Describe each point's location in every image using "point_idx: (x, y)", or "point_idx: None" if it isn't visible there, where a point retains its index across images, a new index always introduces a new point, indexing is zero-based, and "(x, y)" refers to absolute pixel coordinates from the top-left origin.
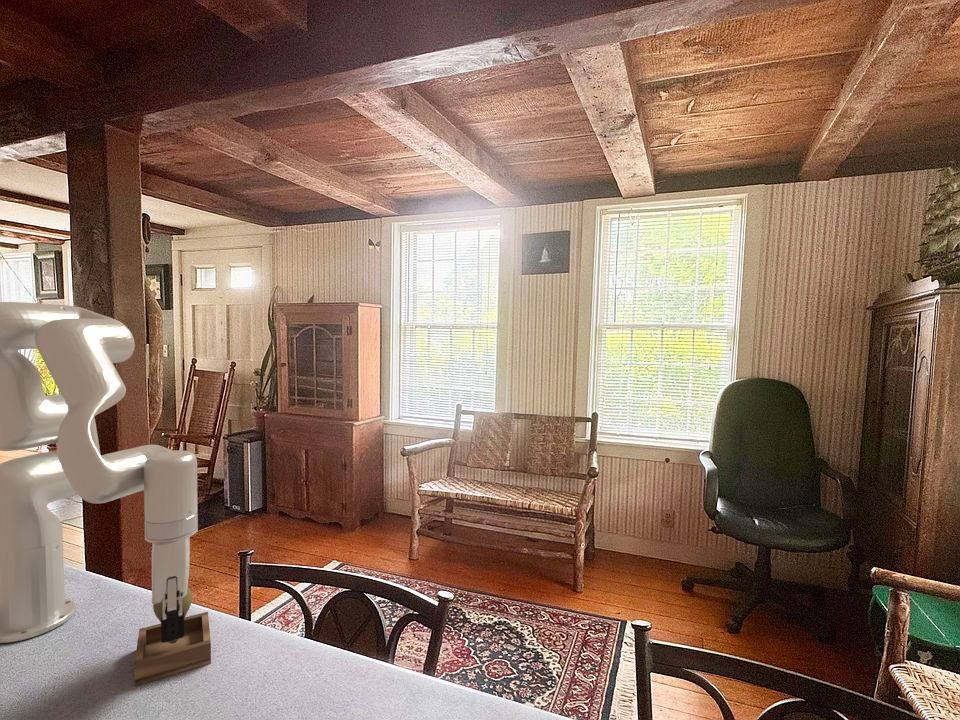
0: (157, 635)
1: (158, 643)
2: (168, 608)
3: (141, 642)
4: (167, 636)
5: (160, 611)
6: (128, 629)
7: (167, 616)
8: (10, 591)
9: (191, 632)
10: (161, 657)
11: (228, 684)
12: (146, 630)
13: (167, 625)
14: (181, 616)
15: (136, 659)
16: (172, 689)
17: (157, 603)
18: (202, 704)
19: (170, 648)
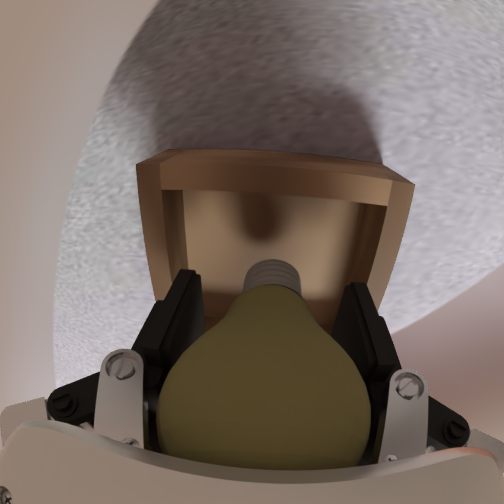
0: (368, 228)
1: (344, 221)
2: (2, 419)
3: (296, 183)
4: (156, 302)
5: (169, 376)
6: (491, 155)
7: (78, 383)
8: None
9: (338, 304)
10: (146, 246)
11: (106, 321)
12: (387, 206)
13: (137, 339)
14: None
15: (166, 168)
16: (118, 237)
17: (191, 414)
18: (68, 279)
19: (285, 251)
